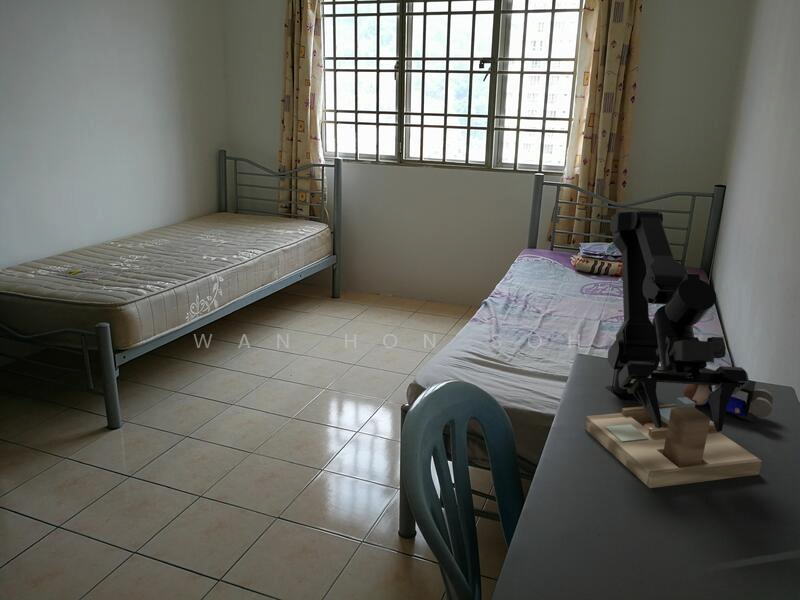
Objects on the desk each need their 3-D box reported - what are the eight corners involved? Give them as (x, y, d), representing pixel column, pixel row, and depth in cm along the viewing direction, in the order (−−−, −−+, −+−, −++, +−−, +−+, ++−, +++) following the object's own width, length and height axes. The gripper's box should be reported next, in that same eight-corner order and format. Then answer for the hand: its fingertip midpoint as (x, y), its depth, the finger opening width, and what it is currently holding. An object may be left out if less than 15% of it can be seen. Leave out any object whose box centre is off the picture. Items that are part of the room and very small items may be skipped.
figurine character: (765, 422, 124) (683, 393, 132) (778, 387, 122) (694, 360, 129) (762, 435, 119) (677, 405, 126) (776, 399, 116) (688, 370, 123)
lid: (652, 413, 116) (655, 394, 115) (688, 410, 118) (691, 391, 116) (676, 430, 110) (680, 410, 108) (713, 426, 111) (717, 407, 110)
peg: (661, 464, 103) (671, 408, 100) (682, 462, 104) (692, 406, 101) (677, 478, 100) (688, 420, 97) (699, 475, 101) (710, 418, 98)
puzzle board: (583, 431, 114) (586, 411, 113) (679, 422, 119) (683, 402, 118) (649, 491, 97) (653, 468, 96) (758, 477, 102) (763, 455, 101)
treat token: (638, 431, 114) (639, 424, 114) (655, 429, 115) (656, 422, 115) (651, 441, 111) (652, 433, 110) (668, 439, 112) (670, 431, 111)
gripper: (633, 312, 100) (644, 408, 93) (755, 319, 99) (777, 416, 92) (613, 343, 110) (622, 431, 102) (724, 349, 109) (741, 439, 101)
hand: (689, 429), depth 99 cm, fingers open, 9 cm apart
